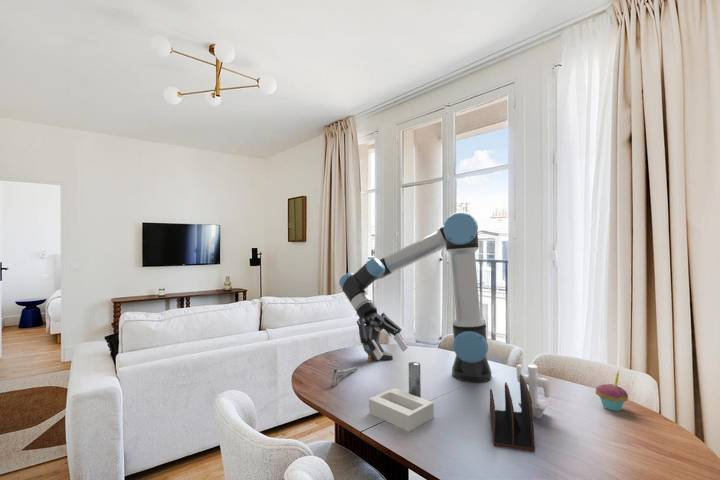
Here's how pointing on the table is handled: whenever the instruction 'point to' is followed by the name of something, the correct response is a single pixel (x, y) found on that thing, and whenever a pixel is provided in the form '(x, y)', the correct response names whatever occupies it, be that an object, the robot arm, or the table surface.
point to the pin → (414, 379)
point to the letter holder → (513, 421)
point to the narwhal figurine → (376, 338)
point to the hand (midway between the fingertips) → (393, 353)
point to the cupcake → (612, 395)
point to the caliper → (340, 374)
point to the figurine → (535, 388)
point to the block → (401, 409)
